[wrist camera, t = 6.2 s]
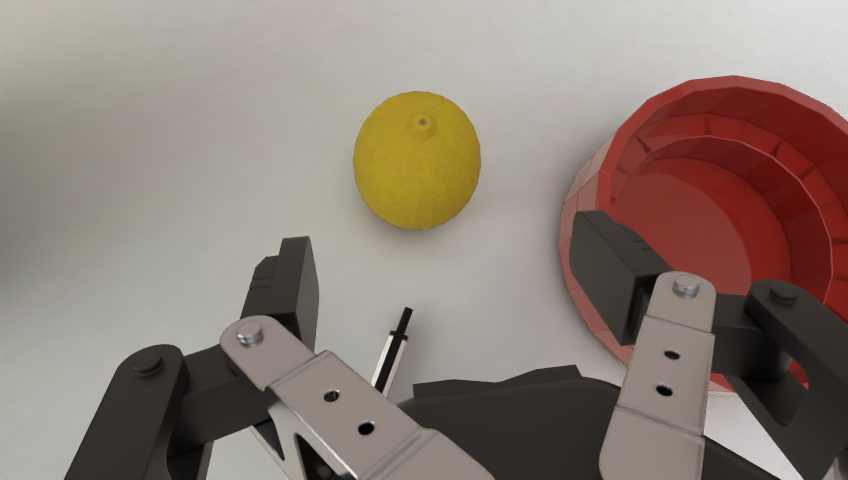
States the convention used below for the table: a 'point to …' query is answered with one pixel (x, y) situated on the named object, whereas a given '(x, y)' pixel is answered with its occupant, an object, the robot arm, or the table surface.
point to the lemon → (417, 160)
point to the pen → (391, 355)
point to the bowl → (725, 193)
